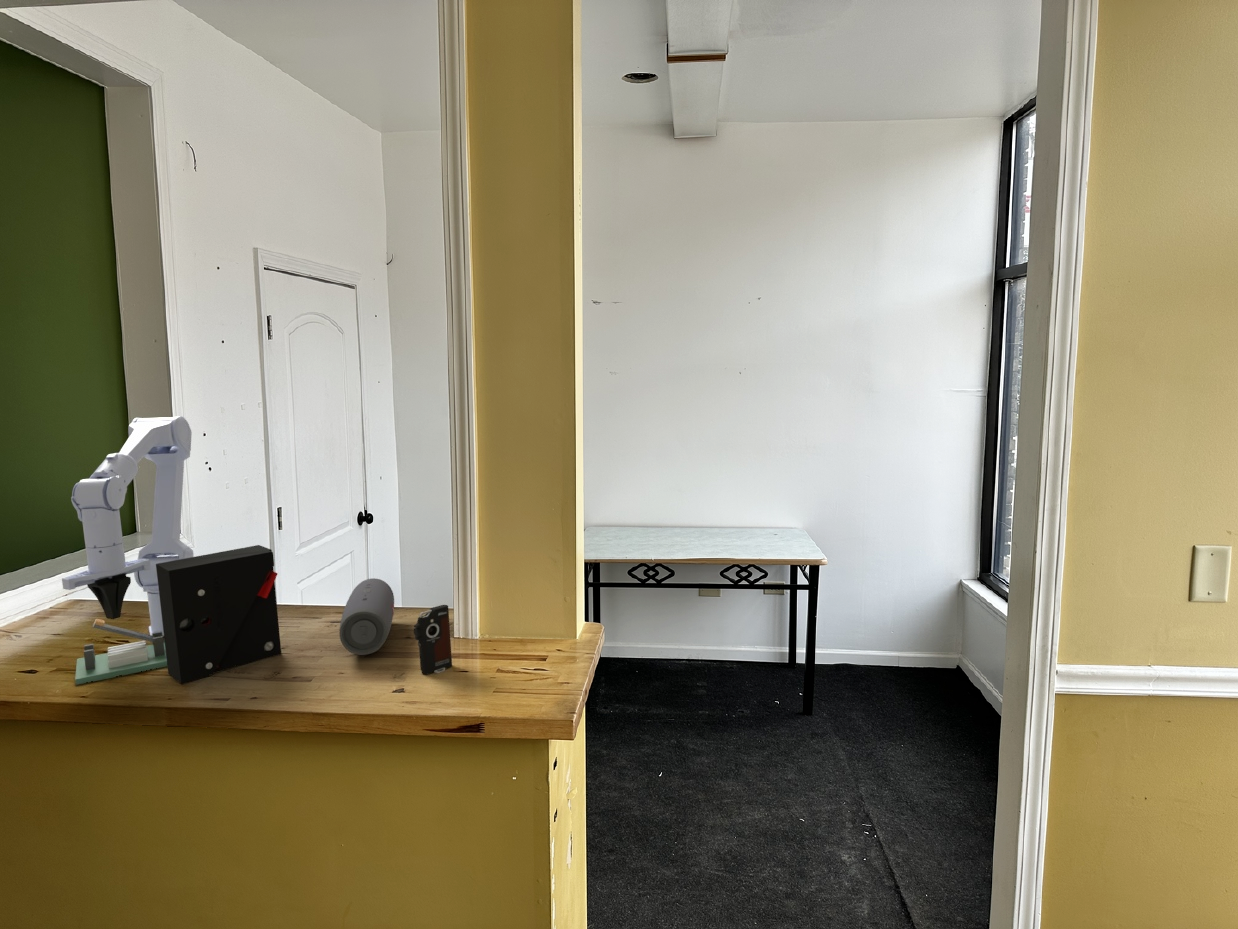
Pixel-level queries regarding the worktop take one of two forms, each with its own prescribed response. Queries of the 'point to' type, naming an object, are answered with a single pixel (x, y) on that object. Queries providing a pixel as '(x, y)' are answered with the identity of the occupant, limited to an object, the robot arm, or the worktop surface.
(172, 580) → the electrical component
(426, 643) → the camera
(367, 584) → the bluetooth speaker
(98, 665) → the heatsink base
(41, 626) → the worktop surface
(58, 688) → the worktop surface
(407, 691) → the worktop surface
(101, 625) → the bar
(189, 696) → the worktop surface
